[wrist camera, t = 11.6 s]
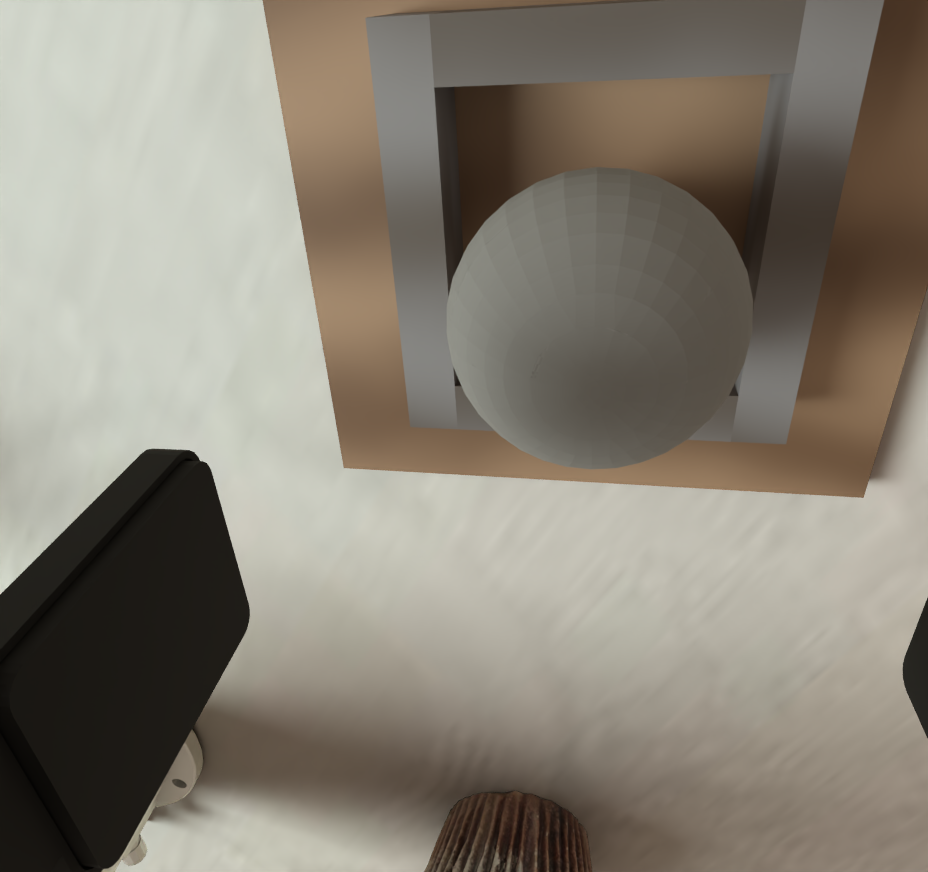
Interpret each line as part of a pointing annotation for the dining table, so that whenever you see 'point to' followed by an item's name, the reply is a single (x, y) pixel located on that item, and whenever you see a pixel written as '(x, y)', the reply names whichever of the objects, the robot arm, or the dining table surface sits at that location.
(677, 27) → the socket holder
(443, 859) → the cupcake
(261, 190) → the dining table surface
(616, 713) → the dining table surface
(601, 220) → the light bulb
